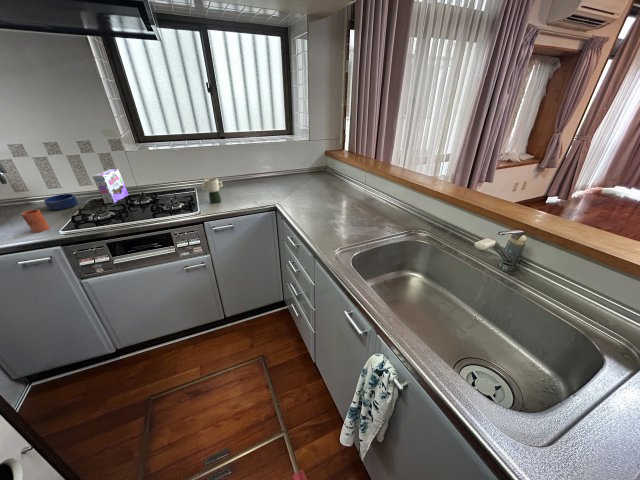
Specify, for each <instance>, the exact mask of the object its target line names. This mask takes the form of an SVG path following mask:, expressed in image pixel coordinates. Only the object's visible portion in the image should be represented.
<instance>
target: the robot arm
mask: <svg viewBox="0 0 640 480" xmlns="http://www.w3.org/2000/svg"><path fill="white" fill-rule="evenodd" d="M7 173H8V171H7V170H6V168H5V166H4V165H3V164H2V163H1V162H0V184H2V185H6V184H8V180H7V179H6V177H5V174H7Z"/></svg>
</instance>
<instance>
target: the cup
mask: <svg viewBox="0 0 640 480" xmlns="http://www.w3.org/2000/svg"><path fill="white" fill-rule="evenodd" d="M20 215H21V217H22V219H23V220H24V222H25V223H26V224H27V226H28V227H29V229H30V231H31V232H32V233H35V234H36V233H42V232H45V231H47V230H49V229H50V228H51V226H50V225H49V223H48V222H47V219H46V218H45V215H43V213H42V211H41V210H40V209H30V210H26V211H23V212H22V213H21V214H20Z"/></svg>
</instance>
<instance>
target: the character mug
mask: <svg viewBox="0 0 640 480" xmlns="http://www.w3.org/2000/svg"><path fill="white" fill-rule="evenodd" d="M203 181H204V183H202V184H201V188H202V190H204V191H205V190H206V191H207V192H208V196H209V202H210V203H218V202H221V201H222V197H221V194H220V192H219V191H220V188H223V181H222V180H219V179H218V177H208V178H204V180H203Z"/></svg>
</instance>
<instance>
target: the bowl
mask: <svg viewBox="0 0 640 480" xmlns="http://www.w3.org/2000/svg"><path fill="white" fill-rule="evenodd" d="M43 203H44V205H45V207H46V208H47V210H49V211H61V210H66V209H70V208H73V207H75V206H77V205H78V203H79V201H78V199H77V197H76V195H75V194H74V193H63V194H57V195H53V196H50V197H47V198H45V199H44V200H43Z"/></svg>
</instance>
